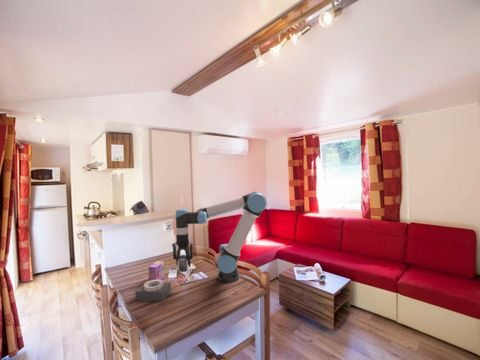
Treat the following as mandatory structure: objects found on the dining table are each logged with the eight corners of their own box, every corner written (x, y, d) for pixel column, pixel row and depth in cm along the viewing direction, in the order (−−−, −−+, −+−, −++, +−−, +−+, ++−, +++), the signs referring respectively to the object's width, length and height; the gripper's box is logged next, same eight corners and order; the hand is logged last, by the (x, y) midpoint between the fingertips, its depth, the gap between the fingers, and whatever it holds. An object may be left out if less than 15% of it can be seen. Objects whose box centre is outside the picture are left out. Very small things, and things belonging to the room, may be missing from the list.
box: (156, 285, 148) (155, 267, 148) (148, 284, 149) (148, 266, 149) (164, 278, 158) (164, 261, 158) (157, 277, 159) (156, 260, 159)
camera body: (171, 290, 140) (170, 279, 140) (162, 301, 128) (162, 288, 128) (146, 289, 142) (146, 278, 142) (135, 300, 130) (135, 287, 130)
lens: (188, 268, 147) (188, 254, 147) (186, 271, 142) (185, 257, 142) (181, 268, 147) (180, 254, 147) (178, 271, 142) (177, 257, 142)
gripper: (197, 231, 147) (199, 267, 147) (171, 232, 149) (172, 267, 149) (194, 234, 140) (195, 272, 140) (166, 235, 142) (167, 272, 142)
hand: (183, 269), depth 145 cm, fingers closed on lens, 5 cm apart
